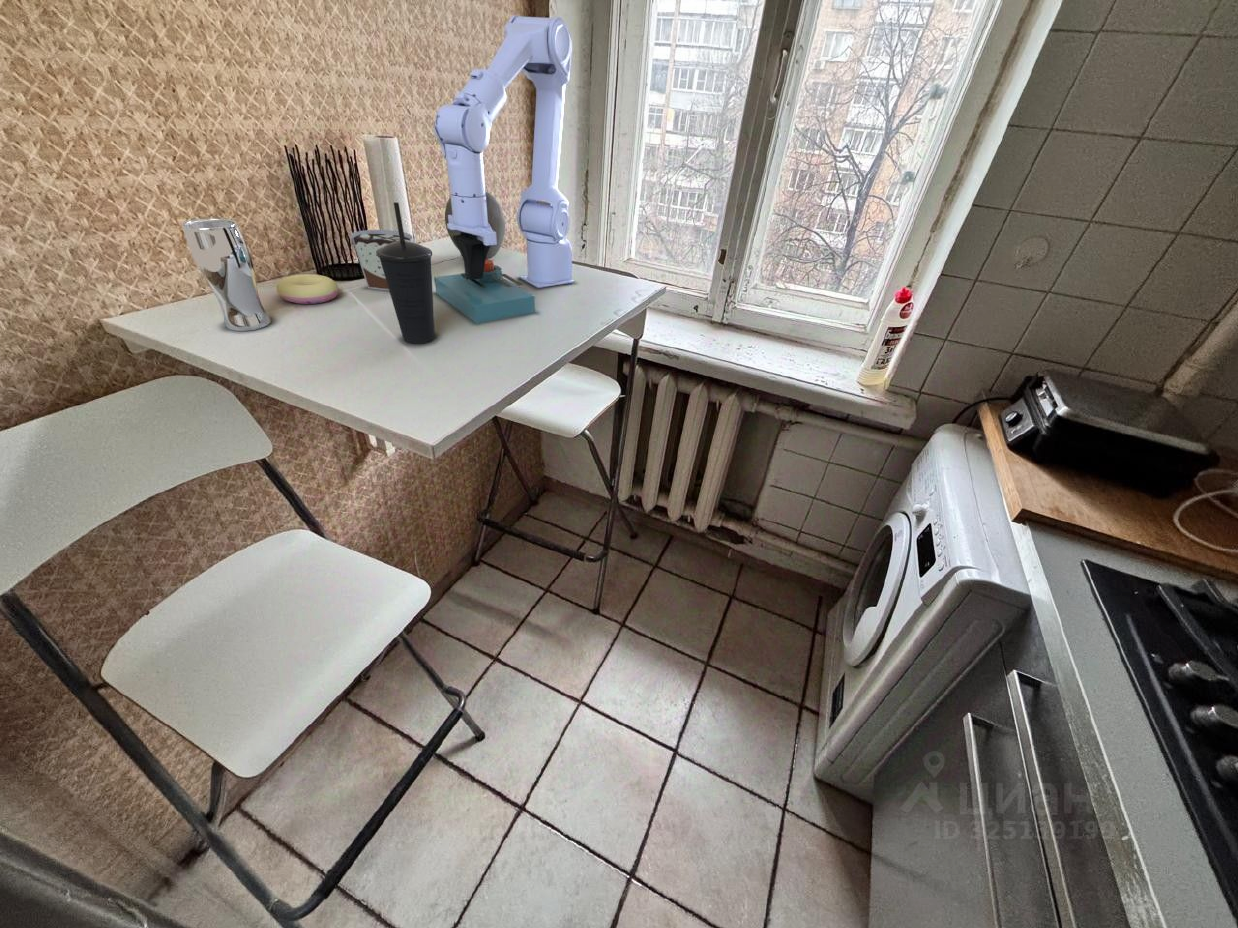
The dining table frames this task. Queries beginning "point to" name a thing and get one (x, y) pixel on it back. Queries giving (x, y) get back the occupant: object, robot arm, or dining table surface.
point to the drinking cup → (410, 285)
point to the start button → (489, 265)
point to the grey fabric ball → (494, 221)
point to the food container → (374, 253)
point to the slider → (465, 273)
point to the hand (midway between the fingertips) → (476, 278)
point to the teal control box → (485, 296)
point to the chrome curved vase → (227, 271)
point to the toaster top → (498, 280)
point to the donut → (307, 288)
